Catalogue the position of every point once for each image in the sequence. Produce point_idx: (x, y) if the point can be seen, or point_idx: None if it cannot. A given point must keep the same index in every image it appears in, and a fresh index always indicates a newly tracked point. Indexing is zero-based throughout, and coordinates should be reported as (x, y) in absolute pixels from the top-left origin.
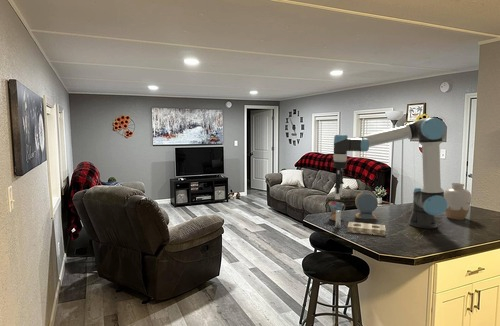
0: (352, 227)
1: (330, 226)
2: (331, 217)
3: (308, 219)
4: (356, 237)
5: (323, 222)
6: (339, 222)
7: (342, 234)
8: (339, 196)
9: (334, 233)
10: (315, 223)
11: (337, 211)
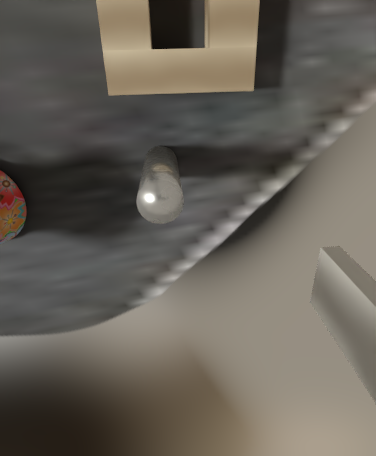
0: (255, 51)
1: None
2: (12, 232)
3: (78, 327)
4: (353, 12)
5: (95, 254)
6: (174, 161)
7: (305, 114)
8: (363, 276)
9: (296, 162)
10: (138, 284)
11: (182, 206)
